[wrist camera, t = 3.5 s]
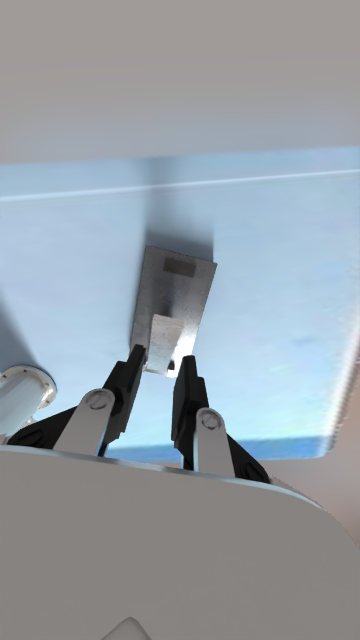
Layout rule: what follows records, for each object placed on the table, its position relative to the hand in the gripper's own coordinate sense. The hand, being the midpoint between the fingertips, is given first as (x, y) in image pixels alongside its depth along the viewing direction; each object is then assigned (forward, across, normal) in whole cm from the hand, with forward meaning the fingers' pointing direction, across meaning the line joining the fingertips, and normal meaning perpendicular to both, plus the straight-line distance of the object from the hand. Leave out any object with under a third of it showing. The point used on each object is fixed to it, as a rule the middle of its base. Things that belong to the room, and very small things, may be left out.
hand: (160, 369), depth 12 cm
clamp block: (+25, 0, +5) cm, 26 cm away
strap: (+16, 0, +8) cm, 18 cm away
